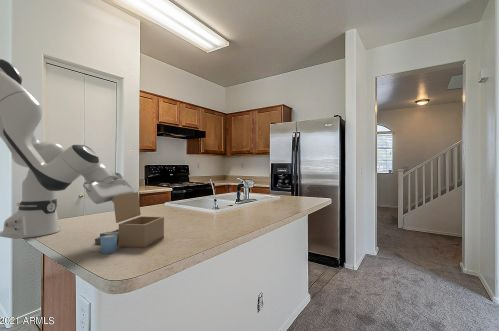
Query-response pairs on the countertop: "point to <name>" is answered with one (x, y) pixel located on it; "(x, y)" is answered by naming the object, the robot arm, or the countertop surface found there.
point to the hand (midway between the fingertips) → (125, 206)
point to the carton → (141, 231)
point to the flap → (126, 206)
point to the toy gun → (98, 240)
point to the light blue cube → (108, 244)
